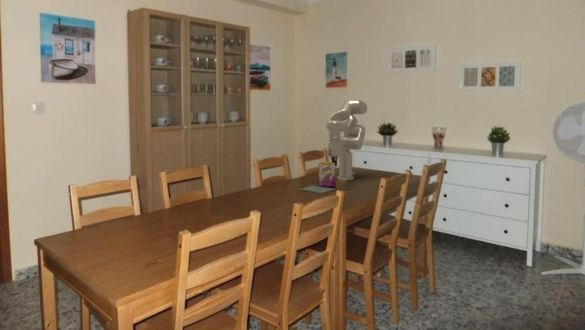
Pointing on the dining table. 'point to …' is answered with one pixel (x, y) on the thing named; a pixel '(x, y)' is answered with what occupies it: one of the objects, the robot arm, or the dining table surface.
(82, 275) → the dining table surface
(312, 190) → the slate mat
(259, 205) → the dining table surface
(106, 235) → the dining table surface
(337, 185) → the walnut block
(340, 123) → the robot arm
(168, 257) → the dining table surface
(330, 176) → the candy bar box
